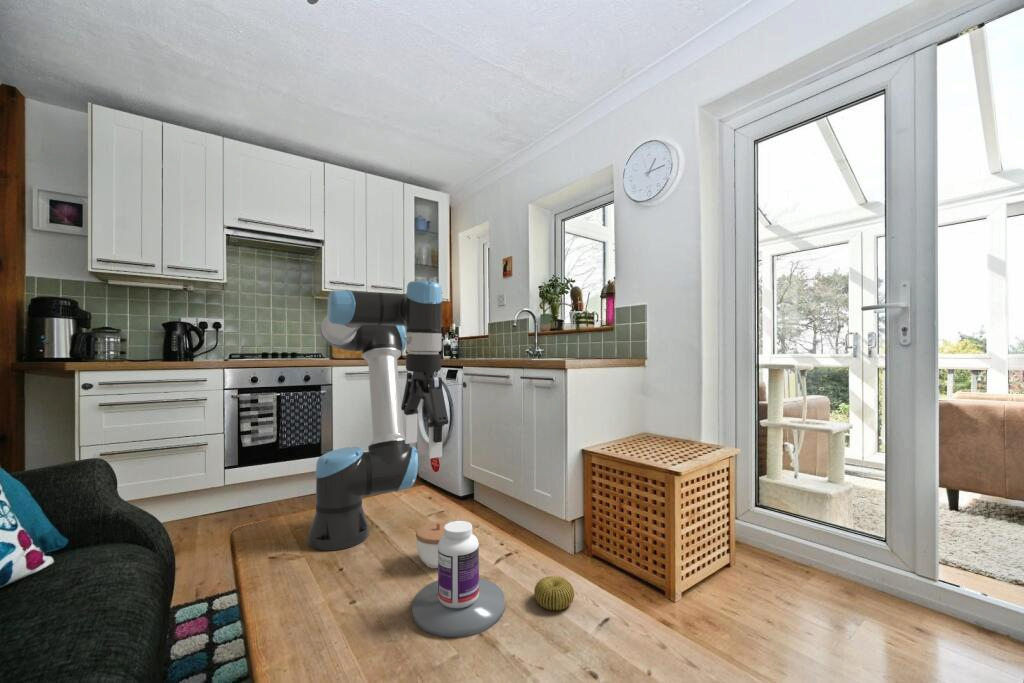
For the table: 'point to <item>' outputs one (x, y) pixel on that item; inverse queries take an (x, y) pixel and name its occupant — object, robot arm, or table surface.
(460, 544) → the pill bottle
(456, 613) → the grey plate
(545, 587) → the green barrel cactus
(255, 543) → the table surface
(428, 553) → the lidded jar
